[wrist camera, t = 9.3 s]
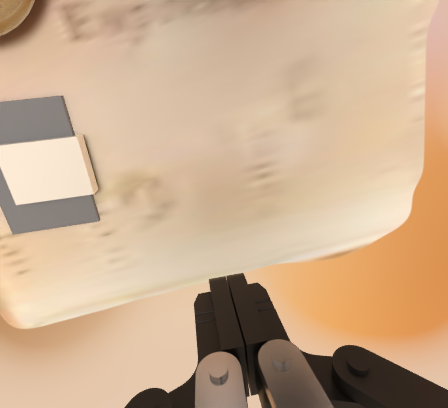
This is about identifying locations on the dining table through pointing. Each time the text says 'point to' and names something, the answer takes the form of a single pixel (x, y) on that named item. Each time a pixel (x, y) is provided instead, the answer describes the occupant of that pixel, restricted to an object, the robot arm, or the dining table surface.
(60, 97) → the mat
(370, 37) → the dining table surface
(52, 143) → the tile
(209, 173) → the dining table surface
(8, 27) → the plant saucer
